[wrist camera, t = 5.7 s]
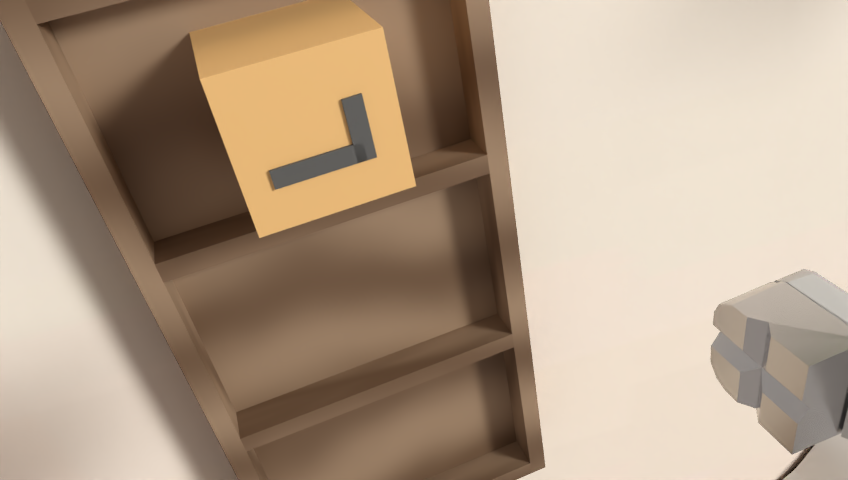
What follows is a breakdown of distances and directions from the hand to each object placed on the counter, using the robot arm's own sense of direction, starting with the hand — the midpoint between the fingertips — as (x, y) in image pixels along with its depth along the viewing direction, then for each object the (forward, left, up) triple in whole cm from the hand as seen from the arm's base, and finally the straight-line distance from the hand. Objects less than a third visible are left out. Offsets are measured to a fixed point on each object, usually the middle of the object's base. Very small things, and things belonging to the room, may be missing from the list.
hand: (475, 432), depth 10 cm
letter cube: (0, 0, -17) cm, 17 cm away
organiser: (-9, 0, -17) cm, 20 cm away
